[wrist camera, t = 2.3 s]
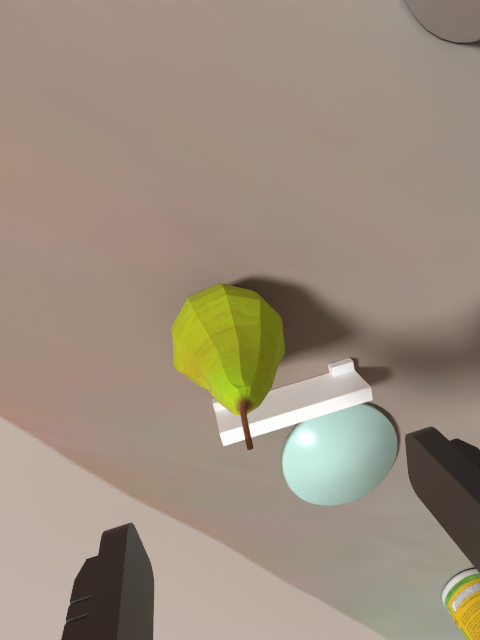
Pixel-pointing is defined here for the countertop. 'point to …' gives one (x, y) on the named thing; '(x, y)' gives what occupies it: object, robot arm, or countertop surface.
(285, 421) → the rail
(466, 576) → the supplement bottle
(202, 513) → the countertop surface
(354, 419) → the pad
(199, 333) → the fruit
